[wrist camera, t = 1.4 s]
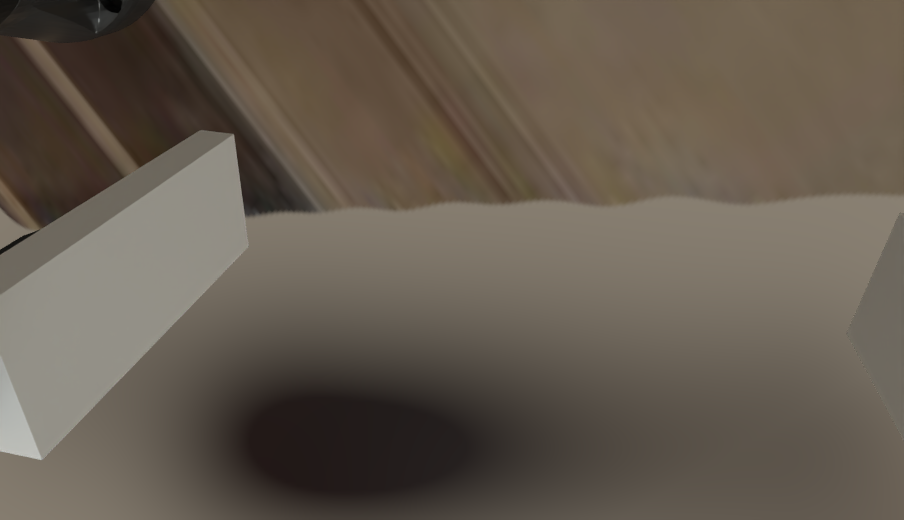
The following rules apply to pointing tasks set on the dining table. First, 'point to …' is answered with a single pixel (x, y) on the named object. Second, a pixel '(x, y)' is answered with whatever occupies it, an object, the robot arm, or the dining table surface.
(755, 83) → the dining table surface
